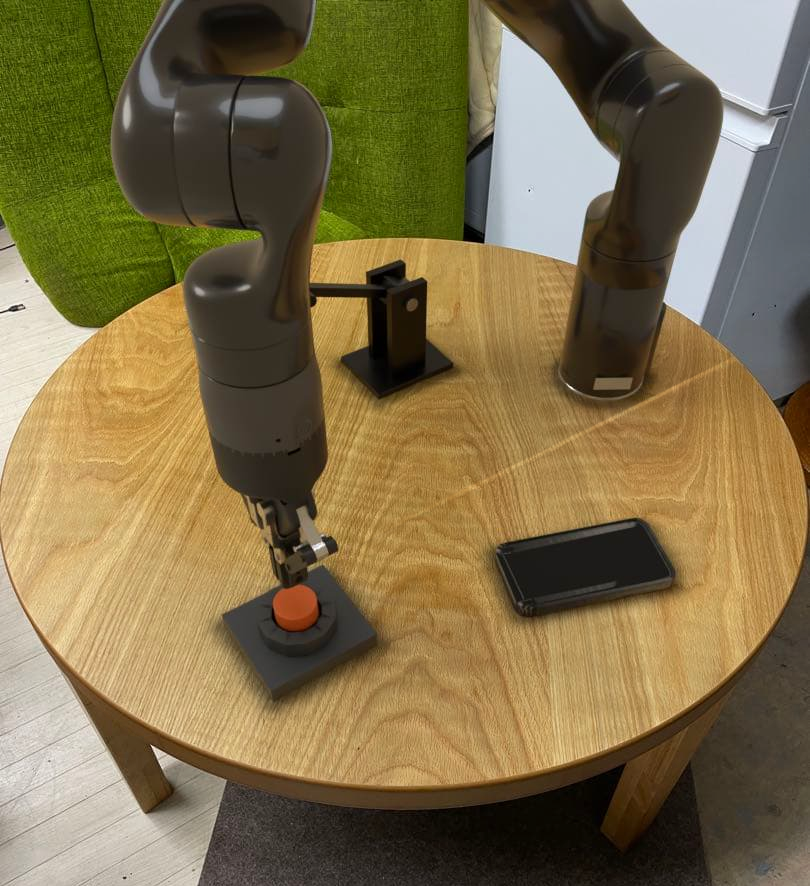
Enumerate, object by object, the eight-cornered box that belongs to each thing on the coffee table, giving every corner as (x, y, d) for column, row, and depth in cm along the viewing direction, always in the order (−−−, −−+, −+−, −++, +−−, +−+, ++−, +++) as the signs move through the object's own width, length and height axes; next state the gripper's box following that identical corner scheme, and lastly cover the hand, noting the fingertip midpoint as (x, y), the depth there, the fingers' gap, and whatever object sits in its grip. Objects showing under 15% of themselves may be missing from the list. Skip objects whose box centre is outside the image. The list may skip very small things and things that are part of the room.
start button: (305, 590, 74) (303, 577, 72) (326, 619, 72) (325, 606, 70) (267, 609, 72) (265, 596, 71) (288, 639, 70) (286, 626, 69)
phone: (492, 545, 80) (643, 515, 82) (491, 552, 80) (641, 523, 83) (520, 612, 75) (680, 579, 77) (519, 620, 75) (677, 587, 78)
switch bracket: (378, 403, 94) (376, 310, 85) (341, 365, 99) (334, 273, 90) (453, 371, 98) (458, 279, 89) (413, 335, 102) (414, 244, 93)
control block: (324, 576, 79) (321, 551, 76) (377, 645, 74) (376, 621, 71) (224, 626, 75) (217, 601, 72) (273, 702, 70) (268, 679, 68)
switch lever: (303, 313, 82) (309, 290, 81) (278, 288, 85) (283, 265, 84) (416, 313, 91) (423, 292, 90) (390, 291, 94) (397, 270, 92)
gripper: (167, 374, 58) (211, 544, 71) (260, 495, 50) (290, 659, 63) (268, 337, 60) (292, 507, 73) (370, 446, 53) (376, 613, 66)
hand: (291, 577), depth 68 cm, fingers closed
